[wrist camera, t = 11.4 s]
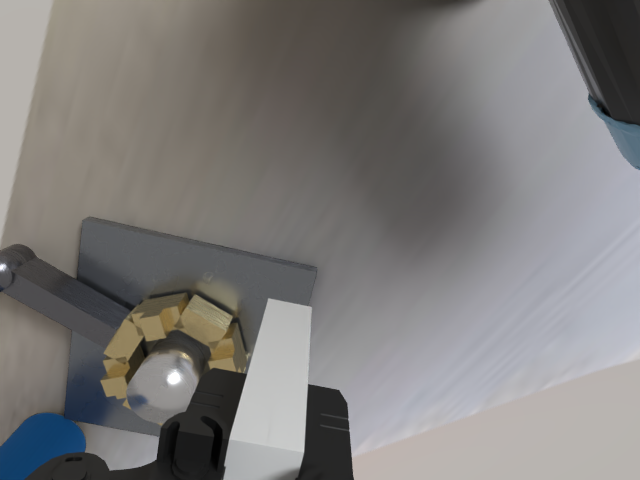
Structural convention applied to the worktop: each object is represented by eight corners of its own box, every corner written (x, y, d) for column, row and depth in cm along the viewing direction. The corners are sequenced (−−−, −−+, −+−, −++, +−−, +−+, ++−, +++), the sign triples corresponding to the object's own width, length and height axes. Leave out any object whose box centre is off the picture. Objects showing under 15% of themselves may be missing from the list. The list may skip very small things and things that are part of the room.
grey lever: (267, 336, 40) (262, 361, 36) (204, 423, 42) (193, 454, 38) (32, 197, 36) (-2, 208, 32) (-21, 301, 38) (-59, 322, 35)
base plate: (89, 216, 38) (31, 244, 30) (316, 267, 40) (317, 306, 32) (70, 410, 44) (16, 476, 36) (270, 448, 45) (261, 520, 37)
